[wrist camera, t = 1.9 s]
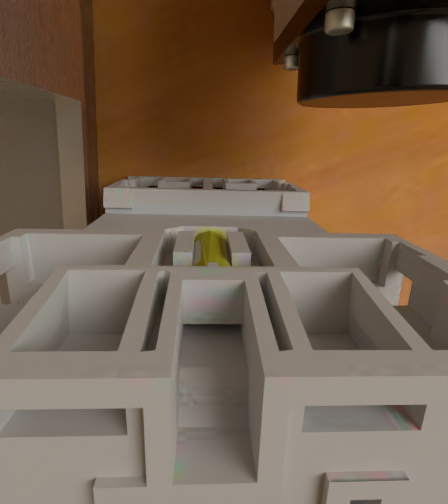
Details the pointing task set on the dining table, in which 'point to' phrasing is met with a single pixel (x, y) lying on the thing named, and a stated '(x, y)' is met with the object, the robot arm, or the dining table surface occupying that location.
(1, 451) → the circuit breaker
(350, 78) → the pneumatic valve
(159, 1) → the dining table surface
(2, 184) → the rail with modules
